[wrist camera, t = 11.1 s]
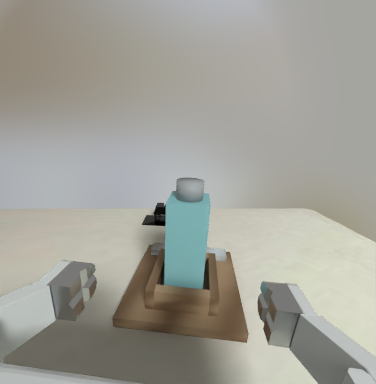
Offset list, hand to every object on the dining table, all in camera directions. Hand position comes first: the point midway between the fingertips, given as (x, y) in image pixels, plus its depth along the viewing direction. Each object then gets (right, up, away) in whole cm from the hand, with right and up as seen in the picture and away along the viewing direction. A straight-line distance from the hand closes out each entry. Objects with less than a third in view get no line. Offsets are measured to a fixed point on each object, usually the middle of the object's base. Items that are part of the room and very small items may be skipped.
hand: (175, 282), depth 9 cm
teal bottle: (0, -8, +15) cm, 17 cm away
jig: (0, -8, +17) cm, 19 cm away
